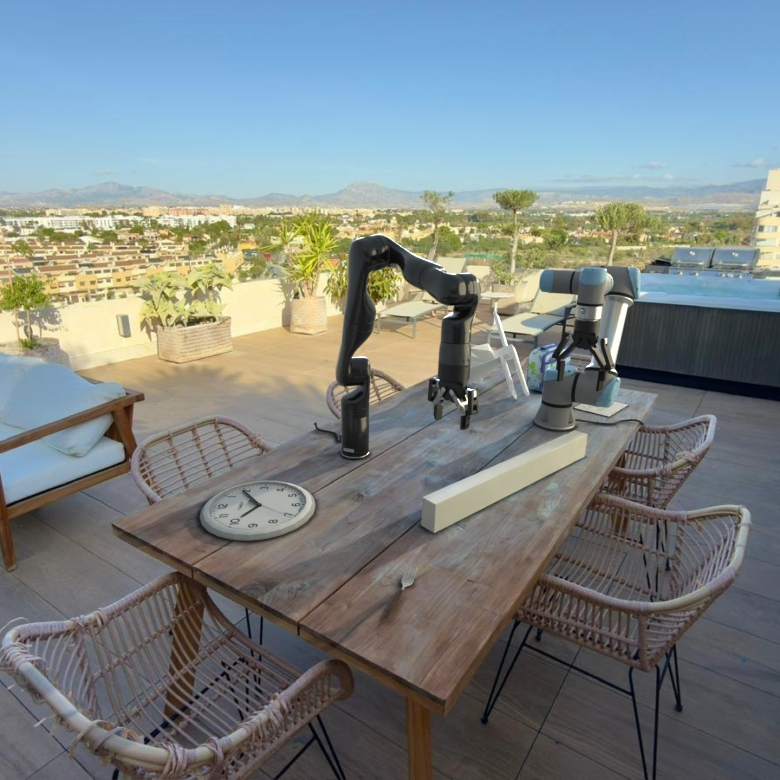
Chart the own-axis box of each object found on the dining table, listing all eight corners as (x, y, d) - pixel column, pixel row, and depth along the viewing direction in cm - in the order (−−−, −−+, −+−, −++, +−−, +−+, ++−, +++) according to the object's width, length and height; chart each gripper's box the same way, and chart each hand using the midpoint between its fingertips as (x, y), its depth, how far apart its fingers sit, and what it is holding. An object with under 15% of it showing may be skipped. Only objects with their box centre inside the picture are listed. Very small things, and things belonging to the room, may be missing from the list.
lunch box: (542, 396, 239) (547, 351, 232) (522, 391, 246) (526, 347, 240) (570, 385, 256) (575, 343, 250) (550, 380, 263) (554, 339, 257)
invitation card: (608, 416, 214) (573, 407, 224) (608, 416, 214) (573, 408, 224) (628, 404, 229) (594, 396, 238) (628, 405, 229) (594, 397, 238)
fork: (380, 619, 101) (380, 610, 101) (406, 571, 116) (406, 563, 115) (393, 622, 101) (393, 614, 100) (417, 574, 115) (417, 566, 114)
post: (572, 452, 180) (575, 430, 177) (584, 456, 176) (587, 434, 174) (421, 525, 134) (422, 497, 132) (434, 533, 131) (435, 504, 128)
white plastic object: (461, 429, 252) (437, 405, 227) (444, 352, 274) (420, 323, 250) (535, 404, 240) (518, 377, 215) (510, 326, 262) (492, 293, 237)
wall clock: (312, 532, 127) (184, 536, 124) (312, 538, 127) (185, 542, 125) (317, 476, 155) (214, 478, 153) (318, 481, 156) (214, 483, 153)
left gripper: (421, 356, 126) (419, 419, 131) (467, 368, 115) (462, 436, 120) (443, 352, 130) (440, 413, 135) (488, 363, 120) (483, 429, 125)
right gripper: (545, 314, 167) (538, 378, 173) (621, 326, 149) (610, 397, 155) (558, 312, 171) (551, 375, 178) (633, 323, 154) (622, 392, 160)
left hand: (450, 424), depth 128 cm, fingers open, 8 cm apart
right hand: (578, 385), depth 166 cm, fingers open, 13 cm apart
